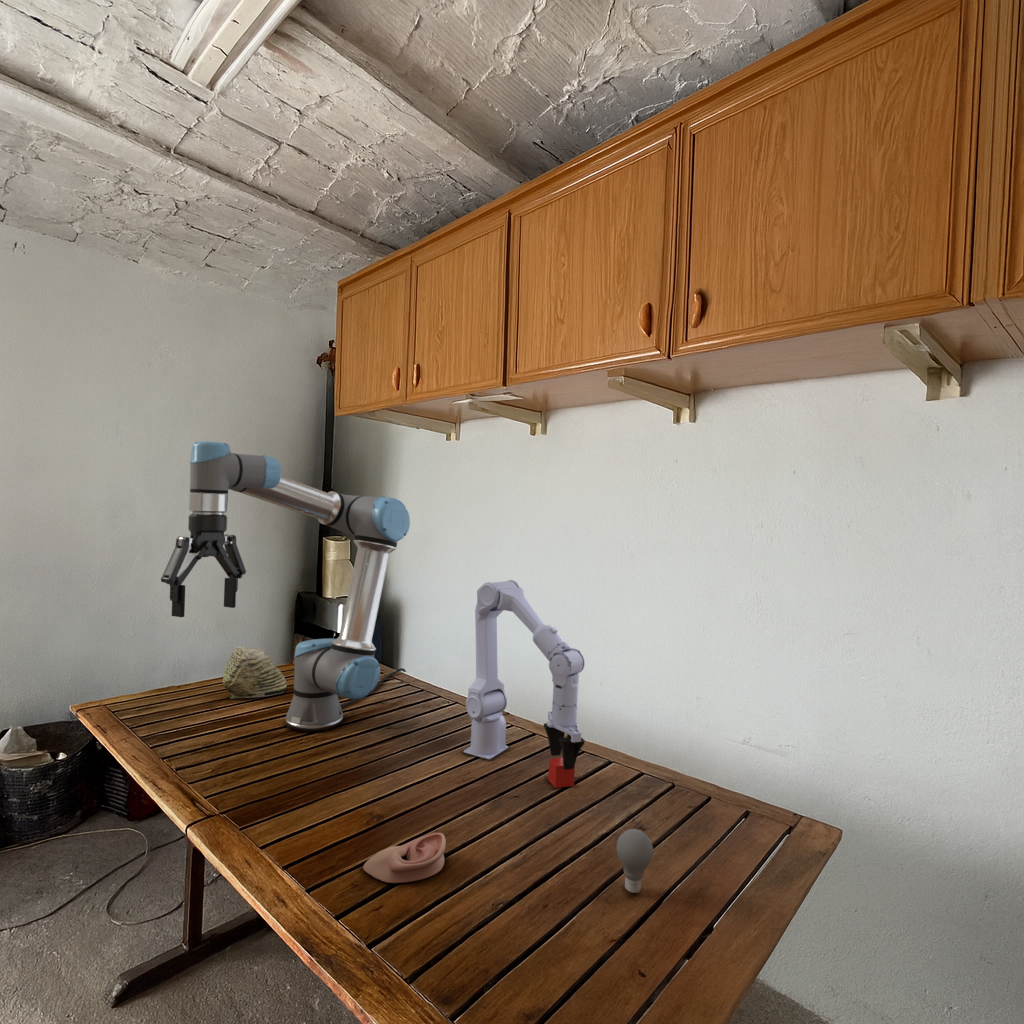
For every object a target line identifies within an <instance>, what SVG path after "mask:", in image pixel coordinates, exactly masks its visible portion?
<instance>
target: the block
mask: <svg viewBox="0 0 1024 1024" xmlns="http://www.w3.org/2000/svg"><path fill="white" fill-rule="evenodd" d="M575 770H576V764H575V765H574V768H573V769H568V770H565V769H564V766H563V757H554V758H549V759H548V775H547V777H548V782H549V783H550V784H551V785H552V786H553V788H554V789H559V788H568V787H570V788H571V787H575V773H576V772H575Z"/></svg>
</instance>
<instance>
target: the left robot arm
mask: <svg viewBox="0 0 1024 1024" xmlns="http://www.w3.org/2000/svg"><path fill="white" fill-rule="evenodd" d="M189 465H190V467H189V468H190V469H189V472H190V474H189V502H188V511H190V512H191V513H190V514H189V515H188V527H187V528H188V531H189V533H190V535H189V537H188V536H177V537H176V539H175V547H174V549H173V550H172V554H171V555H170V558H169V560H168V562H167V564H166V567H165V569H164V571H163V572H162V573H163V574H162V575H161V578H160V582H161V583H165V584H166V585H169V601H170V602H171V617H174V618H175V617H176V618H185V611H186V609H185V605H186V585H185V584H183V583H184V581H185V580H186V579H187V578H188V576H189V574H190V573H191V571H193V569H194V568H195V565H196V564H197V563H198V561H200V560H201V559H203V558H209V557H213V558H215V560H216V561H217V562H218V564H219V566H220V567H221V569H222V570H223V571H224V573H225V574H226V576H227V577H224V583H223V584H224V586H223V587H224V589H223V607H224V608H229V609H230V608H231V609H235V608H236V605H237V604H236V603H237V602H236V601H237V600H236V599H237V592H238V590H239V579H242V578H243V576H244V575H246V573H247V570H246V567H245V564H244V561H243V559H242V555H241V553H240V550H239V548H238V544H237V536H236V535H235V534H225V532H227V530H228V516H227V515H226V513H228V508H229V490H230V491H233V492H237V493H240V494H242V495H243V494H244V495H246V496H249V497H252V498H256V499H258V500H261V501H264V502H267V503H270V504H273V505H275V506H278V507H282V508H285V509H288V510H291V511H294V512H297V513H300V514H303V515H305V516H308V517H312V518H314V519H317V520H318V522H319V523H320V524H322V525H325V526H327V527H329V528H333V529H335V530H338V531H340V532H342V533H345V534H347V535H351V536H353V537H354V538H353V543H354V544H355V546H356V547H357V551H356V555H355V560H354V565H353V570H352V575H351V579H350V584H349V588H348V592H347V593H348V594H347V597H346V603H345V607H344V613H343V617H342V622H341V626H340V631H339V636H338V637H337V638H317V639H308V640H304V641H300V642H299V643H297V645H296V646H295V650H294V655H293V657H294V672H293V673H294V674H293V695H292V696H293V697H292V699H291V702H290V704H289V708H288V711H287V713H286V715H285V726H286V728H287V729H289V730H291V731H294V732H295V731H296V732H301V733H316V732H325V731H329V730H332V729H335V728H337V727H339V726H340V725H342V723H343V722H344V713H343V709H342V708H344V707H346V706H349V705H351V704H353V703H356V702H359V701H360V700H362V699H364V698H366V697H367V696H369V695H370V694H372V693H373V692H374V691H375V690H376V689H377V688H378V687H379V686H380V685H381V684H382V683H383V682H384V681H386V679H388V678H389V677H391V676H393V675H395V674H397V673H399V672H400V671H402V672H403V673H406V672H407V670H406V669H405V668H404V667H403V668H402V667H401V668H398V669H396V670H395V671H396V672H394V671H393V672H390V673H388V674H386V675H385V676H384V677H383V678H381V679H380V676H381V666H380V665H379V661H378V660H377V659H376V658H375V655H376V652H377V651H376V650H377V647H375V645H374V643H373V635H374V632H375V627H376V622H377V617H378V613H379V607H380V603H381V602H380V601H381V597H382V592H383V587H384V582H385V579H386V578H385V577H386V572H387V568H388V562H389V558H390V554H391V553H393V552H395V551H396V550H397V546H398V542H399V541H401V540H403V539H404V538H405V536H407V534H408V533H409V530H410V526H411V518H410V513H409V511H408V509H407V507H406V505H405V504H404V503H403V502H402V501H401V500H400V499H397V498H395V497H390V496H384V495H383V496H375V495H374V496H371V495H368V496H367V495H352V494H351V495H350V494H343V493H340V492H336V491H328V492H326V491H323V490H321V489H318V488H316V487H313V486H310V485H307V484H305V483H302V482H300V481H297V480H295V479H292V478H289V477H286V476H283V475H282V466H281V463H280V461H279V460H278V459H277V458H276V457H273V456H267V455H265V454H264V455H260V454H259V455H258V454H244V453H235V452H231V447H230V444H228V443H227V442H220V441H208V440H198V441H195V442H194V443H192V447H191V451H190V460H189ZM339 697H340V698H342V699H348V700H350V701H347V702H344V703H342V704H341V702H340V699H339Z"/></svg>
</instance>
